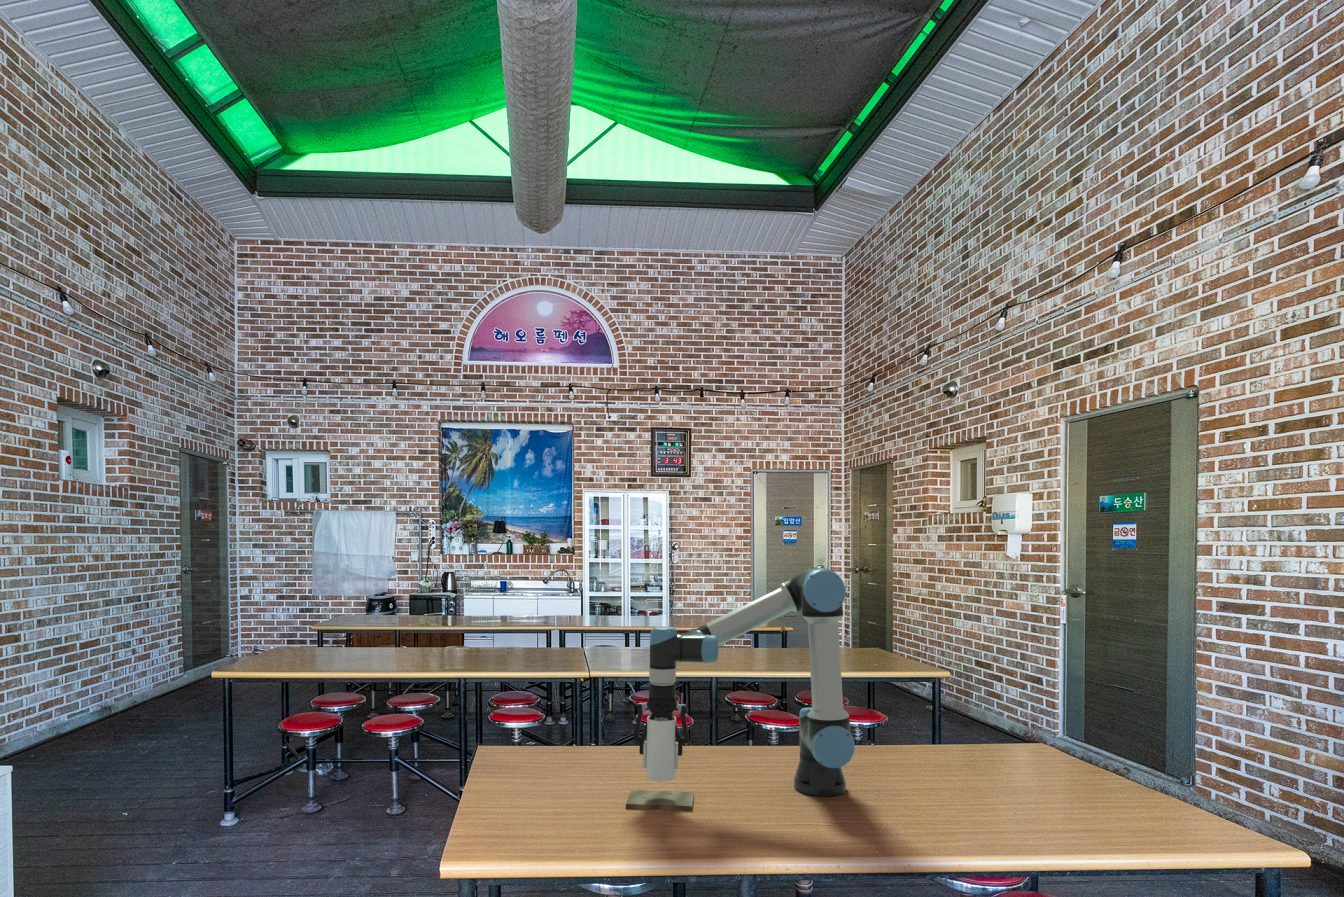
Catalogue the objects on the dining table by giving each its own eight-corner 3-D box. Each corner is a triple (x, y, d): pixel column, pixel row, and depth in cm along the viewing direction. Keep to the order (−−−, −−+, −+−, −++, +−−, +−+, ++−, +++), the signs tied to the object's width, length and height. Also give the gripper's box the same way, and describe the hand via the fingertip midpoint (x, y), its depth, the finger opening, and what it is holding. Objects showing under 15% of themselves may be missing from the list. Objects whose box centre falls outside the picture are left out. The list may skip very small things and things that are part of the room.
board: (693, 796, 218) (693, 791, 218) (692, 810, 206) (692, 805, 206) (630, 794, 219) (630, 789, 219) (625, 808, 207) (625, 803, 207)
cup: (676, 773, 217) (677, 715, 219) (673, 782, 209) (674, 721, 211) (647, 772, 218) (649, 714, 220) (643, 781, 210) (645, 720, 212)
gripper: (699, 681, 220) (698, 764, 217) (626, 679, 221) (624, 761, 218) (699, 686, 212) (697, 772, 209) (623, 684, 214) (621, 769, 211)
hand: (660, 766), depth 214 cm, fingers closed on cup, 8 cm apart
